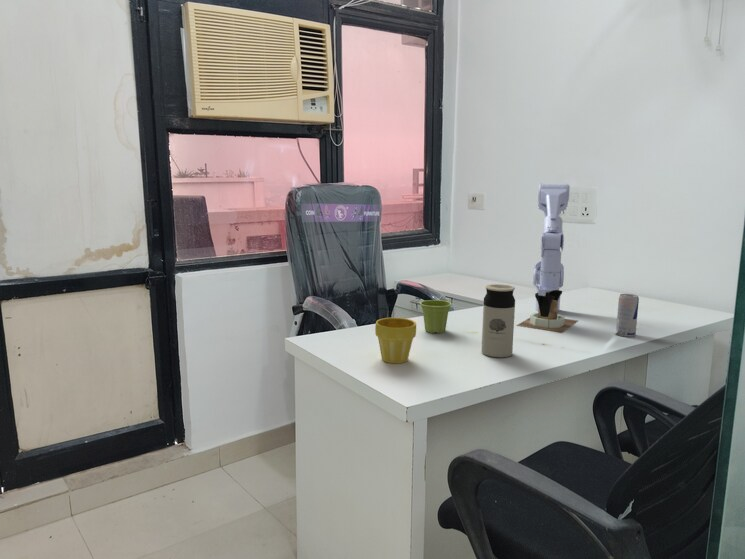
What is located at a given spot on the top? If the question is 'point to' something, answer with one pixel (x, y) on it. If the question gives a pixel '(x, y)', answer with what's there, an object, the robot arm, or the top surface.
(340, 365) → the top surface
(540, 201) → the robot arm
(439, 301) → the plant pot
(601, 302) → the top surface
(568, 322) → the walnut board
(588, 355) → the top surface
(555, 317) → the brown wooden block
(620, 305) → the energy drink
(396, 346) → the plant pot
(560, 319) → the octagonal green bowl
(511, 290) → the travel mug
